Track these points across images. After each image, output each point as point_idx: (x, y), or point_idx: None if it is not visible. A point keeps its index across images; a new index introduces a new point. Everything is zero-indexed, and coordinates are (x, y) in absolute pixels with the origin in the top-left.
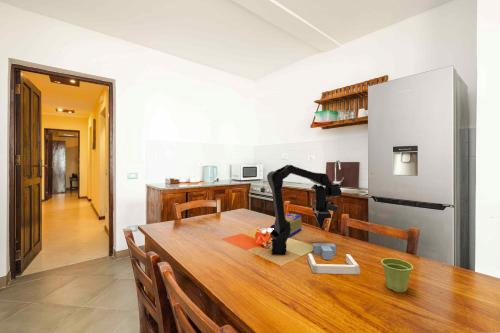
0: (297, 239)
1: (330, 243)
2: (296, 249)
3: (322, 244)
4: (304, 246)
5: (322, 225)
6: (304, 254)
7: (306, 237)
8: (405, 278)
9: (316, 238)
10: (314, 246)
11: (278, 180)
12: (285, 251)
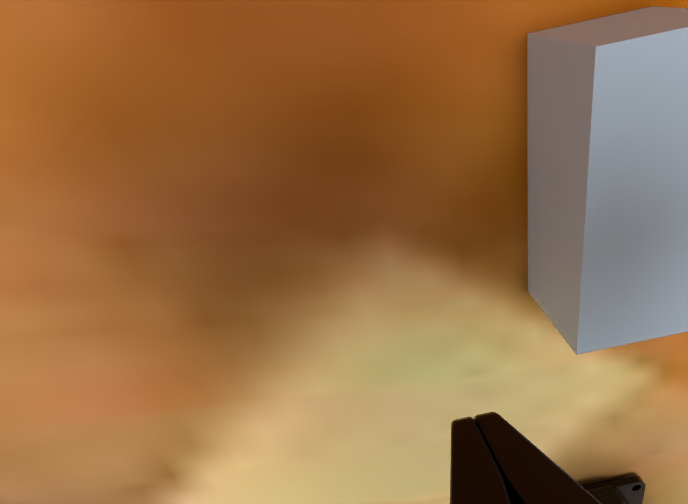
0: (174, 466)
1: (593, 110)
2: None
3: (638, 237)
4: (392, 380)
5: (562, 472)
6: (623, 354)
7: (37, 400)
8: None
9: (3, 286)
10: (685, 325)
11: None
12: (618, 496)
